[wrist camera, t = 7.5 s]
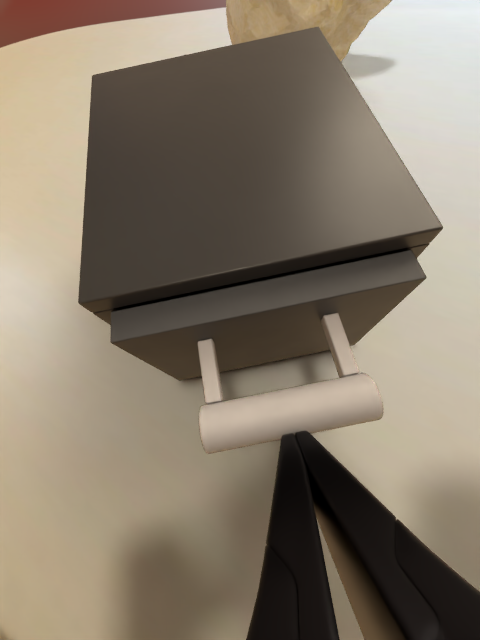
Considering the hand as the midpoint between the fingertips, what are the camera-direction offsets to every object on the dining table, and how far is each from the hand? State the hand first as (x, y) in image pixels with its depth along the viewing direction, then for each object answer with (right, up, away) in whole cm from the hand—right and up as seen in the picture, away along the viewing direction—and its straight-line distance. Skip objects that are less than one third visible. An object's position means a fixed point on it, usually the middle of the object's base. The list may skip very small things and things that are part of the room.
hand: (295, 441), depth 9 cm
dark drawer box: (-2, +8, +11) cm, 14 cm away
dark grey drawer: (-1, +5, +9) cm, 10 cm away
